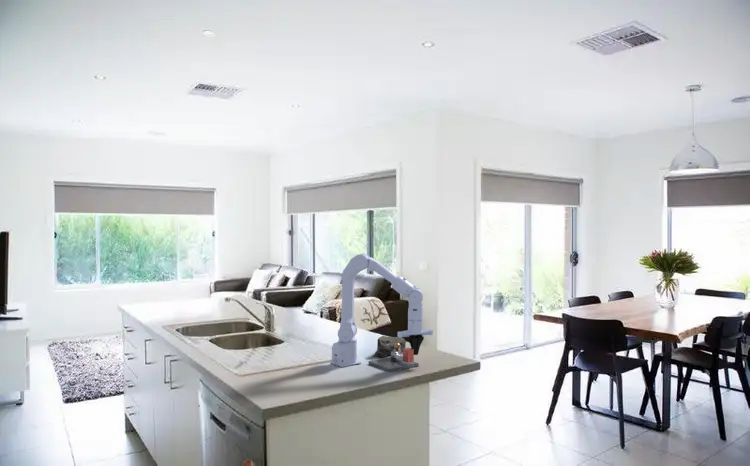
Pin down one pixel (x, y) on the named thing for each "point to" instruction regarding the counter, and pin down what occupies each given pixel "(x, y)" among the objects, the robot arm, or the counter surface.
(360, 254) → the robot arm
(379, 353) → the stone
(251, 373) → the counter surface
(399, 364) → the base
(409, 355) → the lever
